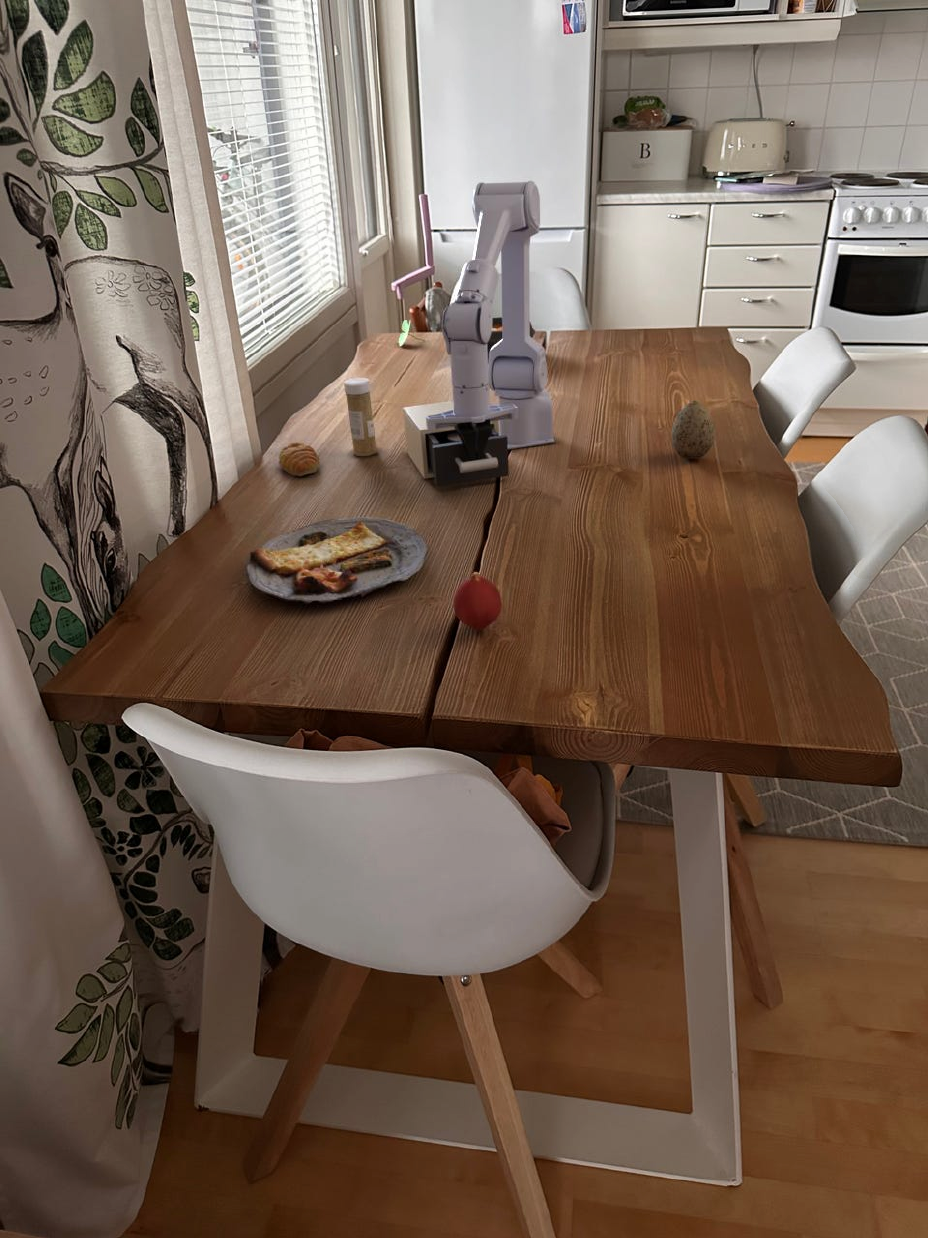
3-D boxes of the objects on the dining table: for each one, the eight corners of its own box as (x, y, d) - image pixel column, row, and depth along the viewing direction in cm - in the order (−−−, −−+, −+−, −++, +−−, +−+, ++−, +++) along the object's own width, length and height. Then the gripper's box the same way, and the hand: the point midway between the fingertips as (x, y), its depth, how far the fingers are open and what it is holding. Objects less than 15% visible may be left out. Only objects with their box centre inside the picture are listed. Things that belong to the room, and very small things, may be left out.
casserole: (539, 372, 211) (539, 334, 206) (458, 375, 212) (456, 338, 208) (538, 344, 232) (538, 310, 228) (465, 348, 234) (463, 314, 230)
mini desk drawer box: (500, 466, 160) (498, 418, 156) (424, 478, 158) (420, 430, 153) (478, 442, 172) (476, 397, 168) (407, 453, 169) (403, 407, 165)
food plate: (277, 630, 116) (272, 605, 114) (228, 561, 134) (224, 539, 132) (454, 578, 125) (452, 554, 124) (386, 520, 143) (384, 499, 142)
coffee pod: (483, 467, 155) (481, 437, 153) (453, 471, 154) (451, 442, 152) (474, 457, 160) (473, 428, 157) (445, 461, 159) (443, 432, 156)
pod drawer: (518, 485, 150) (516, 445, 147) (444, 497, 148) (441, 457, 144) (487, 452, 165) (485, 414, 161) (419, 462, 162) (416, 424, 159)
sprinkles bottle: (381, 453, 170) (374, 380, 164) (360, 459, 168) (351, 385, 161) (370, 446, 174) (361, 375, 167) (348, 452, 172) (339, 380, 165)
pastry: (328, 473, 163) (325, 452, 161) (291, 481, 160) (287, 460, 159) (312, 457, 170) (309, 437, 168) (276, 465, 168) (273, 445, 166)
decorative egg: (661, 460, 158) (664, 403, 153) (684, 448, 163) (687, 392, 158) (698, 468, 154) (703, 410, 149) (720, 456, 158) (725, 398, 154)
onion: (453, 620, 116) (449, 562, 112) (499, 615, 116) (497, 558, 112) (457, 644, 110) (453, 585, 106) (505, 639, 111) (502, 580, 107)
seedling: (416, 361, 243) (394, 351, 240) (419, 337, 247) (398, 326, 243) (429, 347, 238) (407, 337, 235) (433, 323, 241) (411, 312, 238)
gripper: (431, 395, 138) (437, 481, 145) (523, 383, 141) (525, 468, 148) (420, 384, 144) (426, 467, 151) (509, 373, 147) (511, 455, 154)
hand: (474, 467), depth 150 cm, fingers closed, pressing on pod drawer
